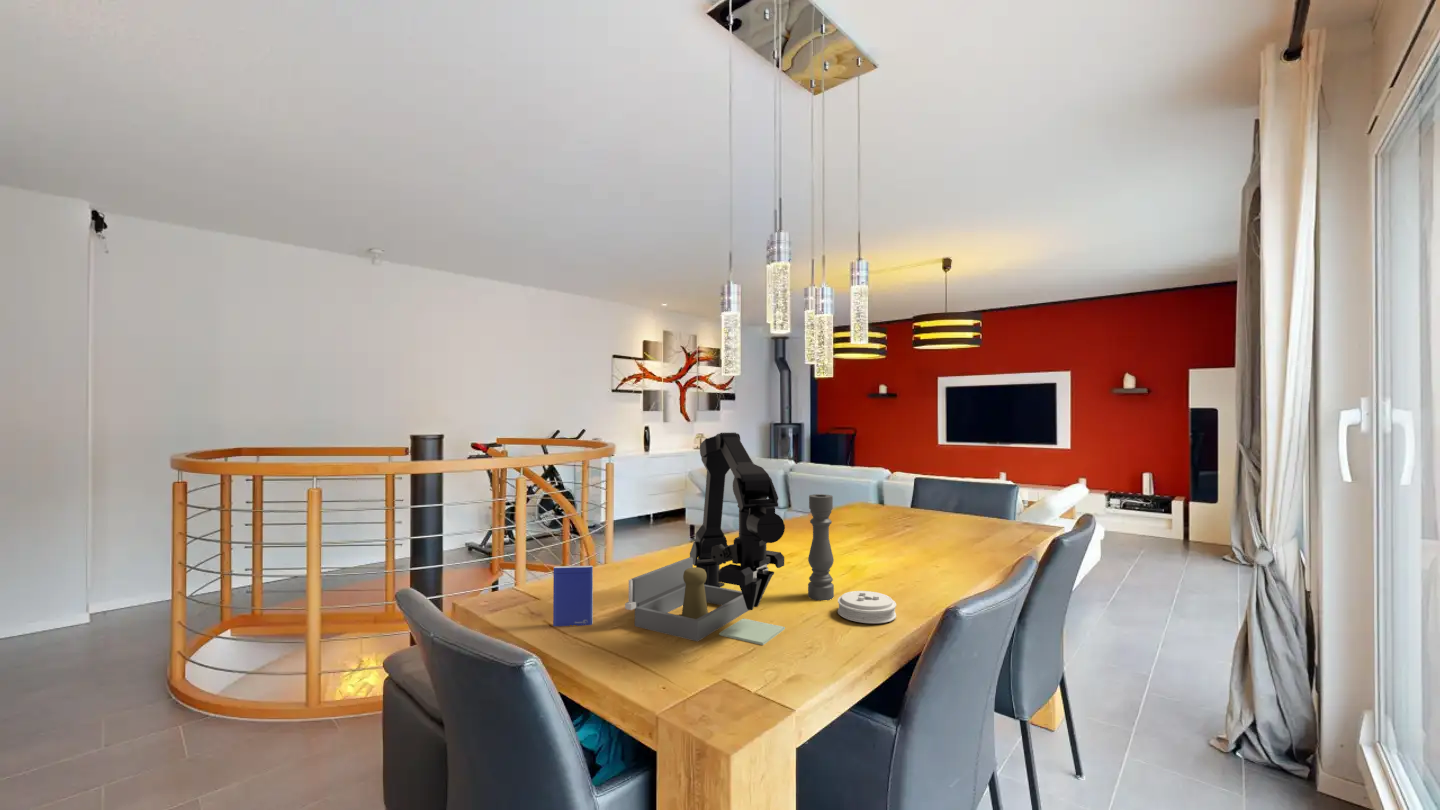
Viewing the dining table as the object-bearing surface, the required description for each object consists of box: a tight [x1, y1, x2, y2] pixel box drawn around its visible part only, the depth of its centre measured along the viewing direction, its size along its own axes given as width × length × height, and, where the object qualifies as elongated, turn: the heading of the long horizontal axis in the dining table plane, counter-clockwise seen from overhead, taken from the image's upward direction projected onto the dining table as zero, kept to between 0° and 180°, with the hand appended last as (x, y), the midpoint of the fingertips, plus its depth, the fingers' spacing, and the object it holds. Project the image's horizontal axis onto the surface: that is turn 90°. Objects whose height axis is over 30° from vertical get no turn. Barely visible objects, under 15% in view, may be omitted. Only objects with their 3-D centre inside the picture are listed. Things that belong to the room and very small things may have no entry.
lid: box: [837, 590, 897, 624], centre depth 135 cm, size 13×13×5 cm
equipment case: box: [624, 556, 750, 642], centre depth 133 cm, size 24×17×10 cm
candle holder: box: [807, 493, 835, 602], centre depth 148 cm, size 6×6×25 cm
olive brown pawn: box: [681, 566, 709, 619], centre depth 133 cm, size 6×6×11 cm
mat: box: [718, 618, 786, 646], centre depth 125 cm, size 10×10×1 cm
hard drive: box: [552, 565, 594, 627], centre depth 129 cm, size 2×8×12 cm, turn 95°
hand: (752, 608), depth 125 cm, fingers closed
